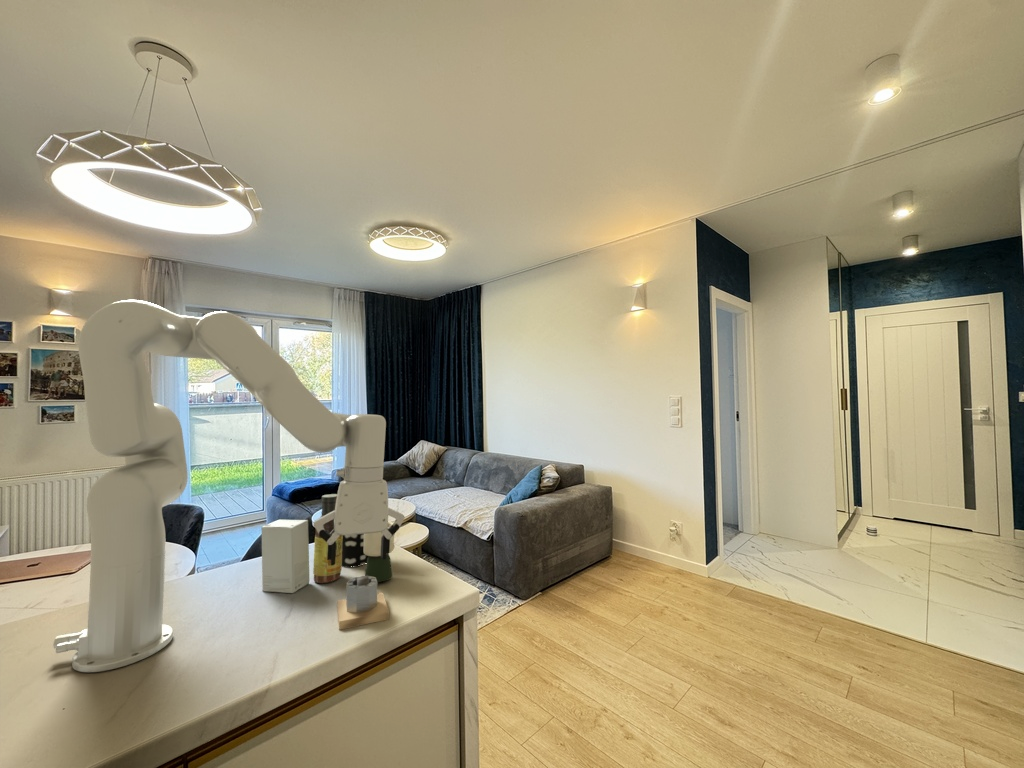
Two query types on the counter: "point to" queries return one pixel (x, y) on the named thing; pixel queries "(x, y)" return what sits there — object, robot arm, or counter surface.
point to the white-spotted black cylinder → (353, 550)
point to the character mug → (377, 556)
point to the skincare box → (285, 556)
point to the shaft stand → (363, 618)
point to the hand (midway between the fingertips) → (358, 560)
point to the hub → (361, 596)
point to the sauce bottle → (321, 564)
